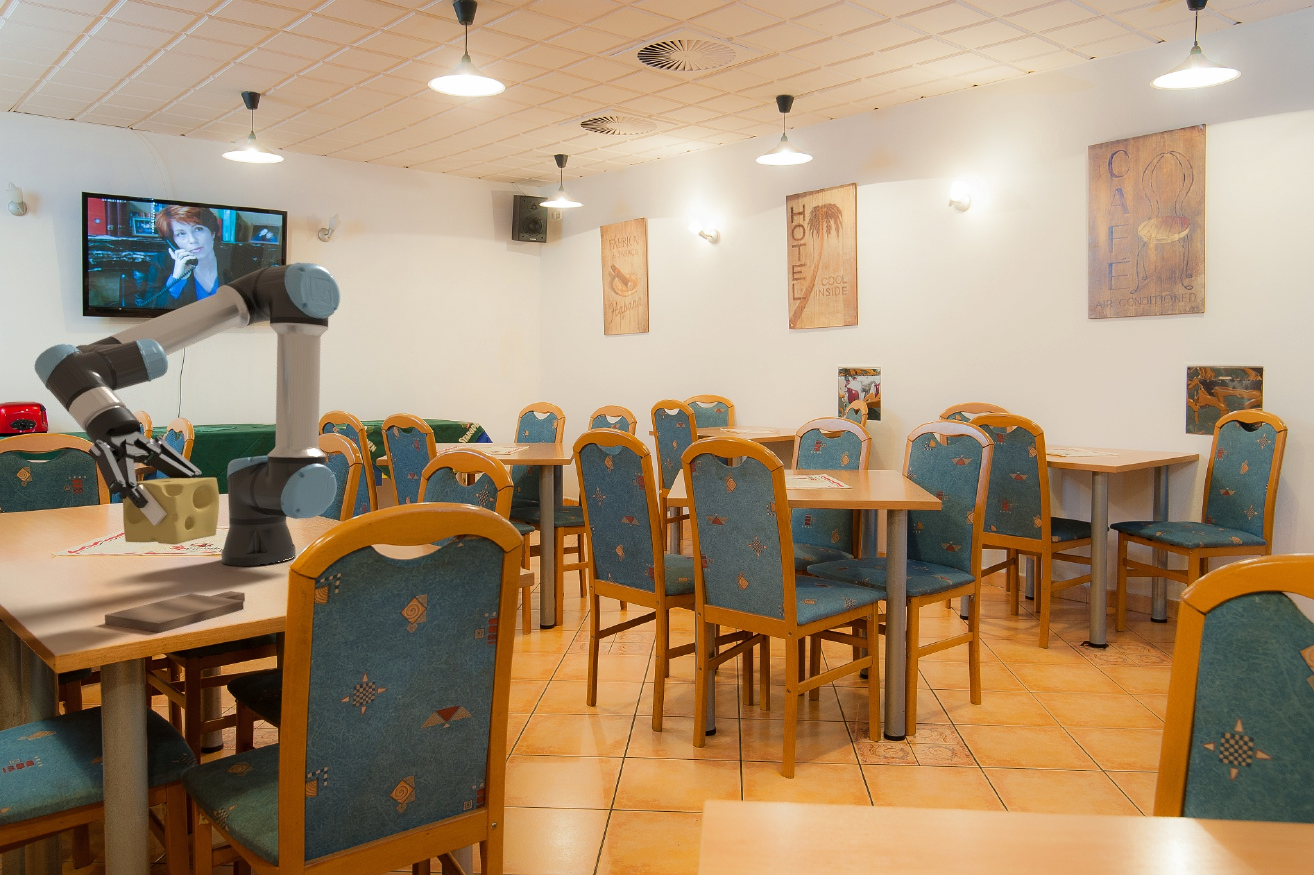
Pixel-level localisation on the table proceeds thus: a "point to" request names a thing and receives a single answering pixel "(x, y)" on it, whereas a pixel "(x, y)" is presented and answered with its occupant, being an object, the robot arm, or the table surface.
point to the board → (177, 611)
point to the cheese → (175, 511)
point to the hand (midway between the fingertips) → (186, 515)
